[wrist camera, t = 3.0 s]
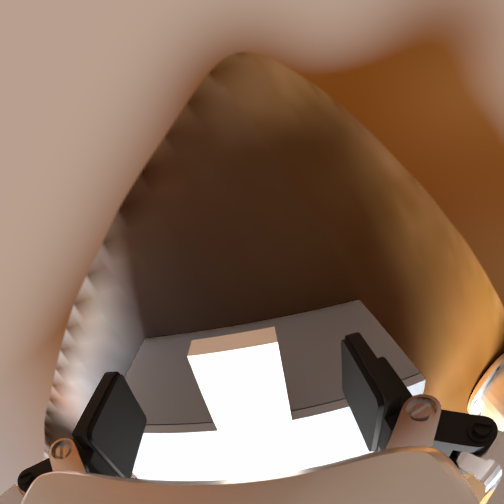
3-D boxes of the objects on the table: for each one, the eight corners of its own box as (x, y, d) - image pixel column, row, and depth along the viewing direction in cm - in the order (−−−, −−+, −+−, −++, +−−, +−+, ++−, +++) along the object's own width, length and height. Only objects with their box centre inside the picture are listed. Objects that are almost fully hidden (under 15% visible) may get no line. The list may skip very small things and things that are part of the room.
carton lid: (427, 287, 11) (441, 297, 10) (384, 490, 17) (388, 499, 16) (63, 351, 12) (52, 364, 11) (191, 520, 17) (190, 529, 16)
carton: (359, 299, 22) (420, 372, 13) (357, 423, 26) (385, 491, 17) (145, 338, 23) (102, 422, 13) (199, 450, 27) (191, 521, 17)
